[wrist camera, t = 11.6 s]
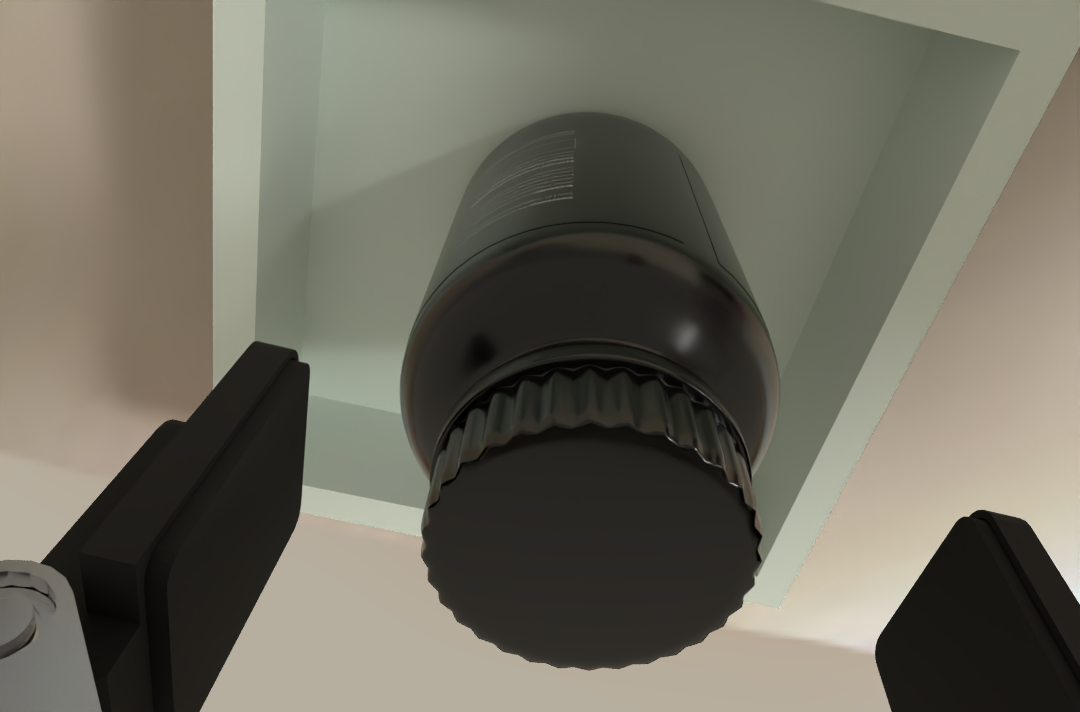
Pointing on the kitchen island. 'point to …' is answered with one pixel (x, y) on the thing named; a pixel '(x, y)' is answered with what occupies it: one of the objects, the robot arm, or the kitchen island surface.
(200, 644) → the robot arm
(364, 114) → the bin
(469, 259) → the supplement bottle
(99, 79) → the kitchen island surface
